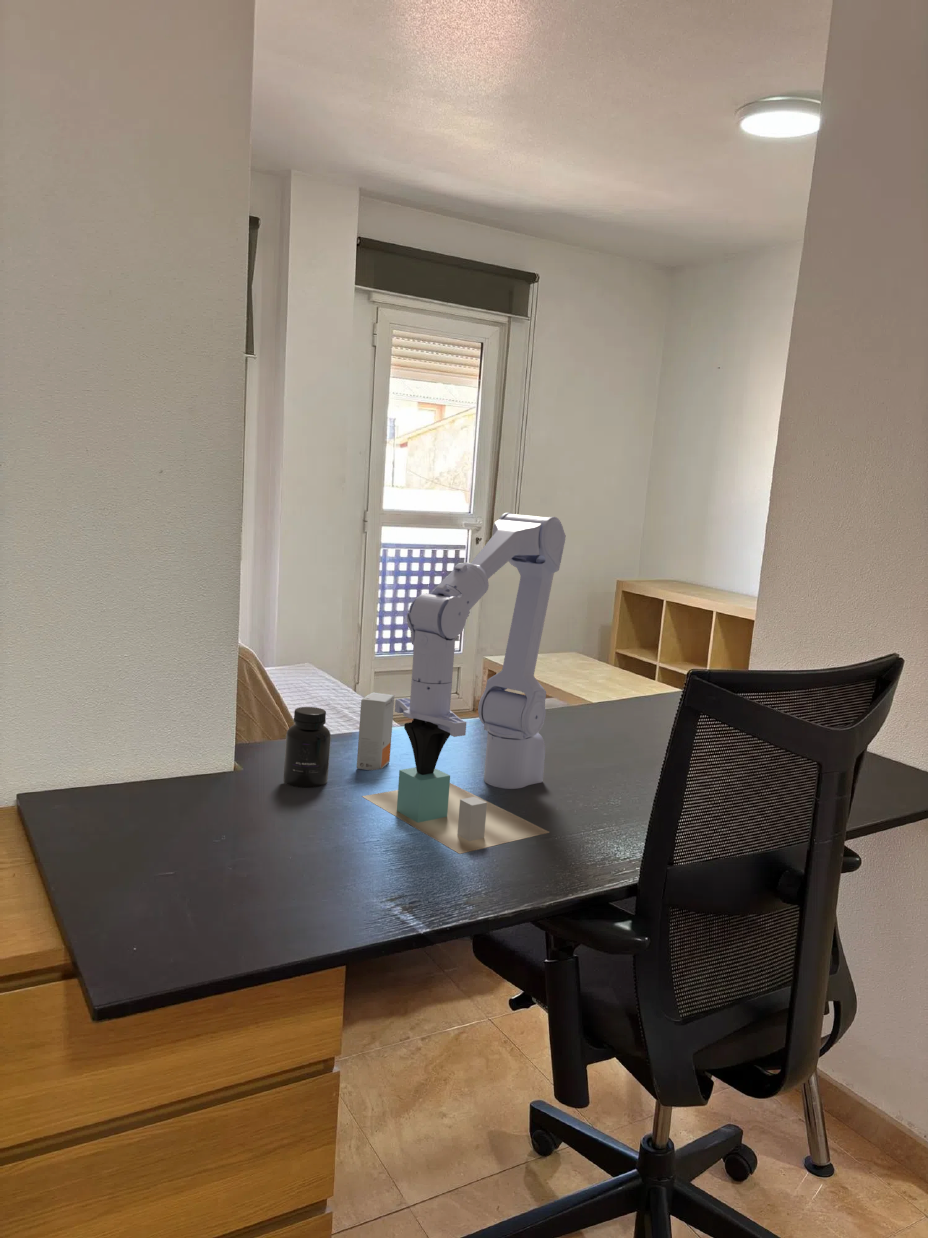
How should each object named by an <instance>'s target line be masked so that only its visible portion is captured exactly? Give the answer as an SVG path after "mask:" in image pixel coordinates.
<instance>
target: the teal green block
mask: <svg viewBox="0 0 928 1238" xmlns="http://www.w3.org/2000/svg"><path fill="white" fill-rule="evenodd" d="M398 773H399V774H398V785H397V790H398V799H397V811H398V812H400V813H401V814H403V815H405V816H407V817H408V818H410V819H412V820H414V821H416V822H417V823H419V822H424V821H428V820H433V819H438V818H443V817H447V812H448V799H449V786H450V783H451V782H450V781H451V775H450V774H448V773H446V772H444V771H441V770H439V769H438V768H435V769H434V772H433V773H431V774H425V775H422V774H420V773H418V772H417V770H416V766H415V767H411V768H404V769H403V768H402V769H399V772H398Z"/></svg>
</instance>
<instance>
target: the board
mask: <svg viewBox="0 0 928 1238" xmlns="http://www.w3.org/2000/svg"><path fill="white" fill-rule="evenodd" d="M361 797H362V798H364V799H365V800H367V801H369V802H370V803H371V804H373V805H375V806H377V807H379V808H380V809H382V810H384V811H385V812H388V813H389V814H391V815H393V816H394V817H396V818H397V819H399V820H401V821H402V822H404V823H406V824H408V825H409V826H411V827H413V828H414V829H416V830H418V831H420V832H421V833H422V834H424V835H426V836H428V837H430V838H431V839H433V840H435V841H436V842H438V843H441V844H442V845H443V846H446V847H447V848H449V849H451V850H452V851H454V852H456V853H457V854H459V855H461V854H466V853H469V852H470V853H471V852H474V851H479V850H483V849H487V848H491V847H494V846H499V845H503V844H507V843H511V842H516V841H520V840H525V839H528V838H534V837H536V836H540V835H546V834H549V833H550V831H548V830H546V829H544V828H542V827H541V826H538V825H536V824H535V823H532V822H530V821H528V820H526V819H525V818H522V817H520V816H518V815H516V814H515V813H512V812H510V811H508V810H505V809H504V808H501V807H499V806H498V805H495V804H494V803H492V802H490V801H488V800H485V799H483V798H481V797H480V796H477V795H475V794H473V793H471V792H470V791H467V790H465V789H463V788H461V787H460V786H458V785H456V784H453V783H452V782H450V786H449V799H448V812H447V817H443V818H438V819H433V820H428V821H424V822H419V823H417V822H416V821H414V820H412V819H410V818H408V817H407V816H405V815H403V814H401V813H400V812H398V811H397V799H398V789H395V790H391V791H389V790H388V791H384V792H379V793H373V794H366V795H362V796H361ZM470 797H477V798H479V799H481V800H483V801H485V802H487V809H486V822H485V834H484V838H481V839H477V840H472V841H468V840H466V839H464V838H462V837H461V836H459V835H457V833H458V820H459V807H460V799H465V798H470Z"/></svg>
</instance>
